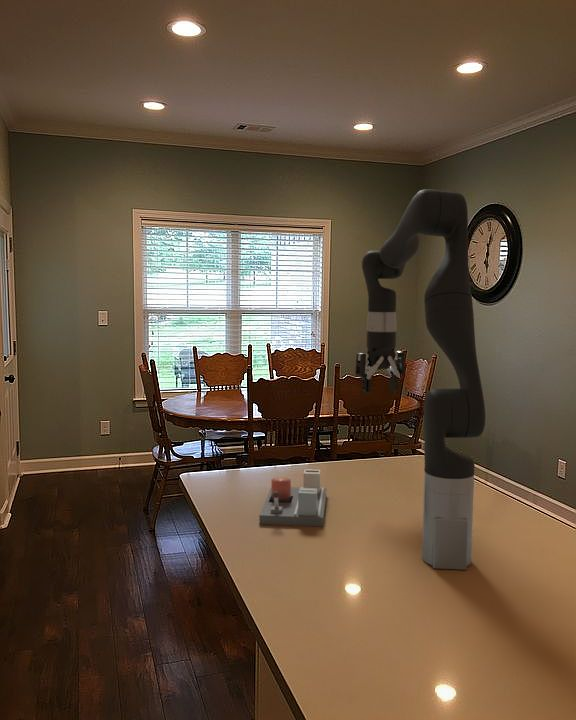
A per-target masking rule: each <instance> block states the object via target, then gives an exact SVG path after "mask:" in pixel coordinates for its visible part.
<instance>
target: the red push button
mask: <svg viewBox="0 0 576 720" xmlns="http://www.w3.org/2000/svg"><path fill="white" fill-rule="evenodd" d="M291 482H292V480H291V479H290V478H288V477H275V478H272V479H271V482H270V483H271V487H270V489H271V497H272V498H273V499H274V497H273V493H274V492H278V493H279V497H278V500H284V499H289V498H290V497H291V487H292V486H291V485H292V483H291Z"/></svg>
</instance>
